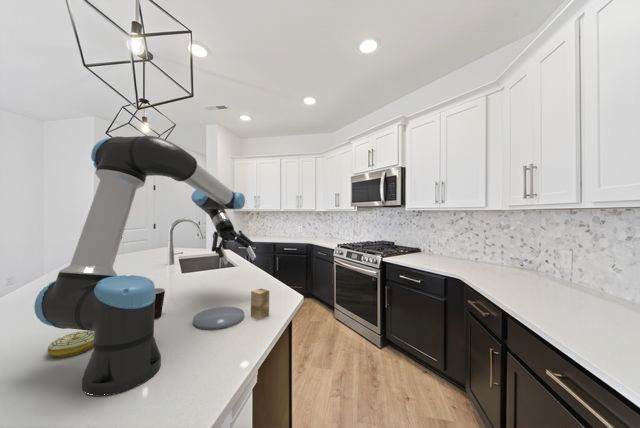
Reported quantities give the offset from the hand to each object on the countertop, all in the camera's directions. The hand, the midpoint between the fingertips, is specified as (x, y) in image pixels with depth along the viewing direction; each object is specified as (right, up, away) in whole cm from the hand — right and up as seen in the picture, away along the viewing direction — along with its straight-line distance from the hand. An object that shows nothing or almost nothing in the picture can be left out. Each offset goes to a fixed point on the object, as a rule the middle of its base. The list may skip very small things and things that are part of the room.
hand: (241, 260), depth 108 cm
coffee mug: (-32, -19, -13) cm, 40 cm away
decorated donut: (-37, -19, -36) cm, 55 cm away
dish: (-4, -20, -14) cm, 24 cm away
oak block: (+11, -20, -10) cm, 25 cm away
